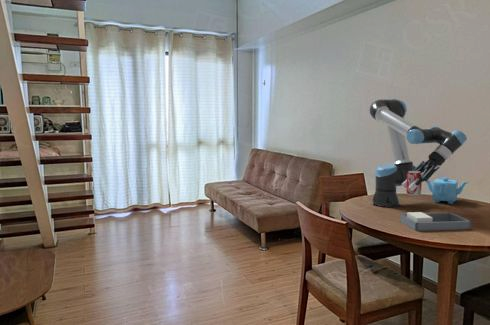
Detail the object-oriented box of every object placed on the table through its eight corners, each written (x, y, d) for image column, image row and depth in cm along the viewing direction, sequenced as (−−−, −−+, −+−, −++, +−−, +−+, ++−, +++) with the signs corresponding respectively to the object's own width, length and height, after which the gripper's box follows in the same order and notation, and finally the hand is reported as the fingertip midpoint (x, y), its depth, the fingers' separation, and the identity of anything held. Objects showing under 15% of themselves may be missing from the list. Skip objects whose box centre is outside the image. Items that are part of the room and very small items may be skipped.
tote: (415, 232, 159) (415, 223, 158) (399, 223, 174) (400, 214, 174) (470, 231, 159) (471, 221, 159) (450, 221, 175) (450, 212, 174)
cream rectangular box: (416, 228, 161) (417, 218, 161) (406, 222, 171) (406, 212, 171) (432, 228, 162) (432, 217, 161) (421, 222, 172) (421, 212, 171)
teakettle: (446, 197, 227) (447, 174, 225) (470, 203, 209) (471, 179, 207) (420, 199, 224) (421, 176, 222) (441, 206, 205) (442, 181, 204)
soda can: (422, 196, 180) (423, 172, 179) (407, 195, 182) (408, 172, 180) (418, 193, 187) (419, 170, 186) (404, 192, 189) (405, 170, 187)
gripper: (456, 163, 173) (421, 196, 175) (434, 158, 192) (403, 188, 194) (445, 152, 172) (411, 186, 174) (424, 149, 192) (393, 179, 193)
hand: (407, 187), depth 184 cm, fingers closed on soda can, 7 cm apart
